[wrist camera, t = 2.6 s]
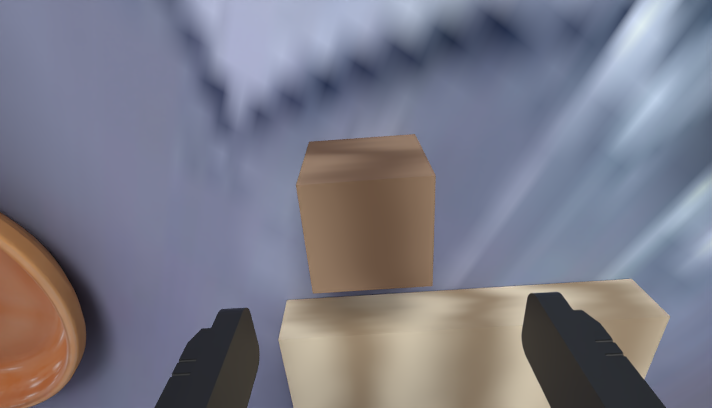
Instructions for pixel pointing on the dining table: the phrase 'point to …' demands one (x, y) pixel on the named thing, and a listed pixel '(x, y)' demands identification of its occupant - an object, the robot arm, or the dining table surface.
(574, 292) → the wooden block
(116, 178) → the dining table surface
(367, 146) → the walnut cube
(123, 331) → the dining table surface
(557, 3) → the dining table surface
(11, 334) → the saucer
